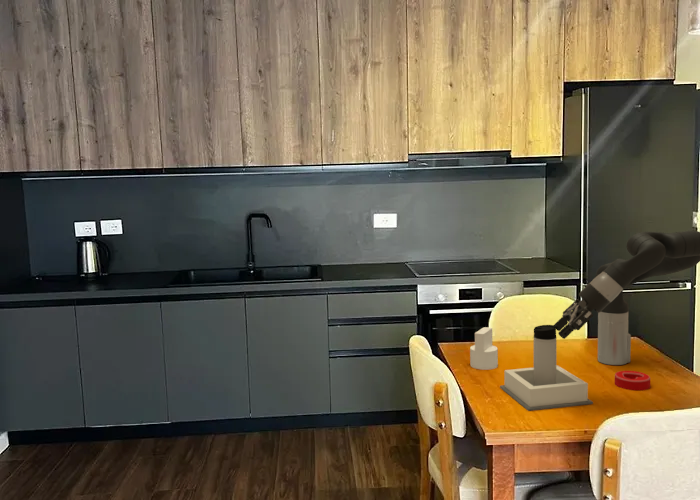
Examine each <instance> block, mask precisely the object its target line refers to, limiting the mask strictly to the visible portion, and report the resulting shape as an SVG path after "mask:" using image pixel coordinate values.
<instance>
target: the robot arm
mask: <svg viewBox="0 0 700 500" xmlns="http://www.w3.org/2000/svg"><path fill="white" fill-rule="evenodd" d="M626 250H627V252H628V253H629V254H630V255H631V257H630V258H628V259H623V258H616V259H615V260H614V261H612V262H608V263H605V264H602V265H600V266H599V268H597V270H596V272H595V277H594V278H593V279H592V281H590V282H589V283H588V284H587V285H586V286H584V288H583V289H582V290H581V291H580V292H579V293H578V296H579V297H580V298H581V299H582V300H580V299H578V298H577V299H575V301H573V302H572V303H571V304H570V305H569V306H568V307H566V308H565V310H563V312H562V315H561V318H559V319H558V320H557V321H556V322H555V323H554V324H553V325H557V326H558V329H557V328H556V331H557V333H558V335H559V337H560V338H562V339H563V340H565V339H566V338H568V336H569V335H570V334H572V333H573V332H574V331H576V330H577V331H580V329H581V328H582V327H584V326H585V325H586V324H587V323H588V321H590V320H591V319H592V318H593V317H594V314H593V312H592V311H595V312H597V323H598V324H597V361H598V362H599V363H601V364H604V365H609V366H611V365H612V366H623V365H626V364H627V363H631V351H632V350H631V345H632V344H631V343H632V339H631V338H632V335H631V334H630V333H629V311H630V310H629V306H630V305H629V303H628V302H627V301H625V300H624V293H623V291H624V289H626V288H628V287H631V286H632V285H635V284H637V283H639V282H641V281H643V280H646V279H649V278H652V277H658V276H667V275H671V274H675V273H678V272H682V271H684V270H687V269H688V270H689V269H691V268H693V267H695V266H697V264H699V263H700V231H697V230H685V231H678V232H677V231H675V232H661V231H660V232H658V231H641V232H637V233H635V234H633V235H632V236H630V237H629V238H628V240H627V241H626Z"/></svg>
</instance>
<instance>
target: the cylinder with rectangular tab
mask: <svg viewBox="0 0 700 500" xmlns="http://www.w3.org/2000/svg"><path fill="white" fill-rule="evenodd" d="M498 354H499V353H498V347H497V346H496V345H493V327H488V326H487V327H486V326H485V327H482V328H480V329H479V330H478V331H475V332H474V344H473V345H471V346H470V349H469V355H470V356H469V361H470V363H469V364H470V367H471V368H473V369H476V370H483V371H484V370H487V371H488V370H494V369H497V368H498V366H499V363H498V362H499V361H498V357H499V356H498Z"/></svg>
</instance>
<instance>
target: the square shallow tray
mask: <svg viewBox="0 0 700 500" xmlns="http://www.w3.org/2000/svg"><path fill="white" fill-rule="evenodd" d="M503 372H504V384H503V385H499V388H500V389H501V390H503V392H505V393H506V394H507V395H509V397H511V398H512V399H513V400H514V401H516V402H517V403H518V404H520V406H522V407H523V408H524V409H526V411H528V412H529V411H530V412H531V411H539V410H549V409H550V410H551V409H558V408H568V407H577V406H578V407H579V406H585V405H586V406H587V405H593V404H594V401H592V400H591V399H589V395H588V393H589V392H588V391H589V383H588V382H587V381H584V380H583V379H581V378H579V377H577V376H576V375H574V374H573V373H571V372H570V371H567V370H566V369H565V368H563V367H561V366H560V365H557V364H556V384H551V385H541V386H534V367H524V368H516V369H505V370H504V371H503Z"/></svg>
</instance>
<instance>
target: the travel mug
mask: <svg viewBox="0 0 700 500" xmlns="http://www.w3.org/2000/svg"><path fill="white" fill-rule="evenodd" d="M556 328H557V329H558V326H557V325H554V324H542V325H536V326H535V327H534V329H533V368H534V386H541V385H551V384H556V365H557V330H556Z"/></svg>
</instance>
